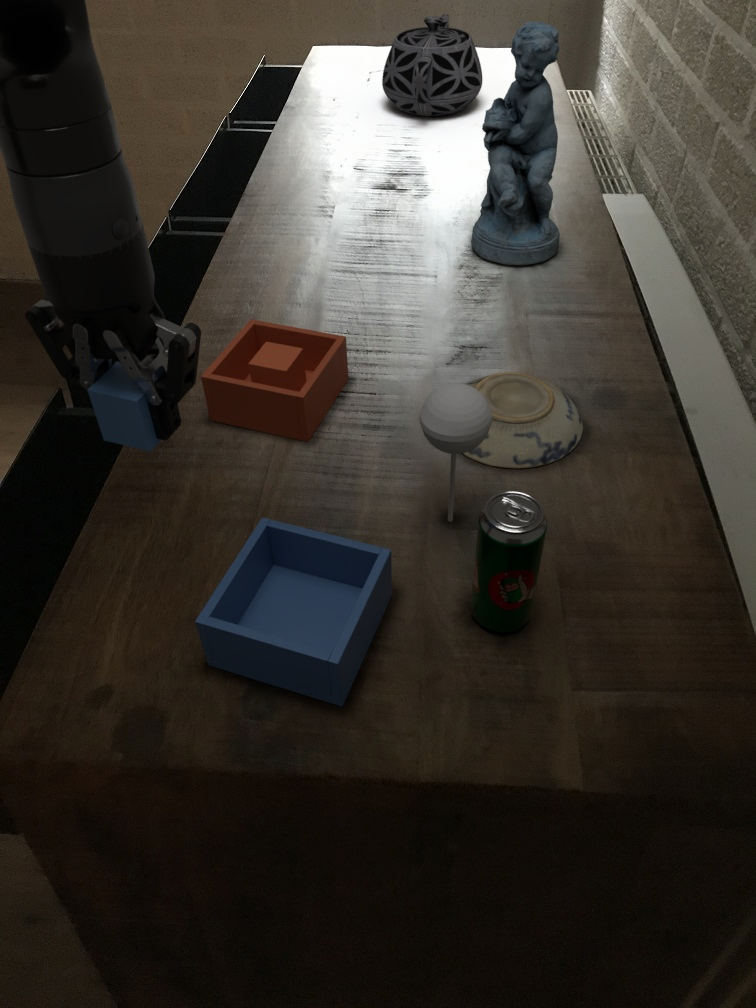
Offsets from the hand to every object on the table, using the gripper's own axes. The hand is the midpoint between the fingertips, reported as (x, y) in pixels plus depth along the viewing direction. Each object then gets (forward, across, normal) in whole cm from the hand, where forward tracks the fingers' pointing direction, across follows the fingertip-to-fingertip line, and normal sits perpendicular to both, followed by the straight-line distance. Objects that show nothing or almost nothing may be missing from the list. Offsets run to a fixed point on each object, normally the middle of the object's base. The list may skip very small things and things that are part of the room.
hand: (140, 426), depth 65 cm
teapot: (+12, +12, -118) cm, 120 cm away
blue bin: (+13, -16, +5) cm, 21 cm away
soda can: (+13, -31, -2) cm, 33 cm away
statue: (+13, -16, -67) cm, 70 cm away
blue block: (0, 0, 0) cm, 0 cm away
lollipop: (+13, -24, -11) cm, 29 cm away
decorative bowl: (+13, -26, -27) cm, 39 cm away
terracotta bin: (+13, -1, -22) cm, 26 cm away
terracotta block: (+12, -1, -23) cm, 26 cm away
